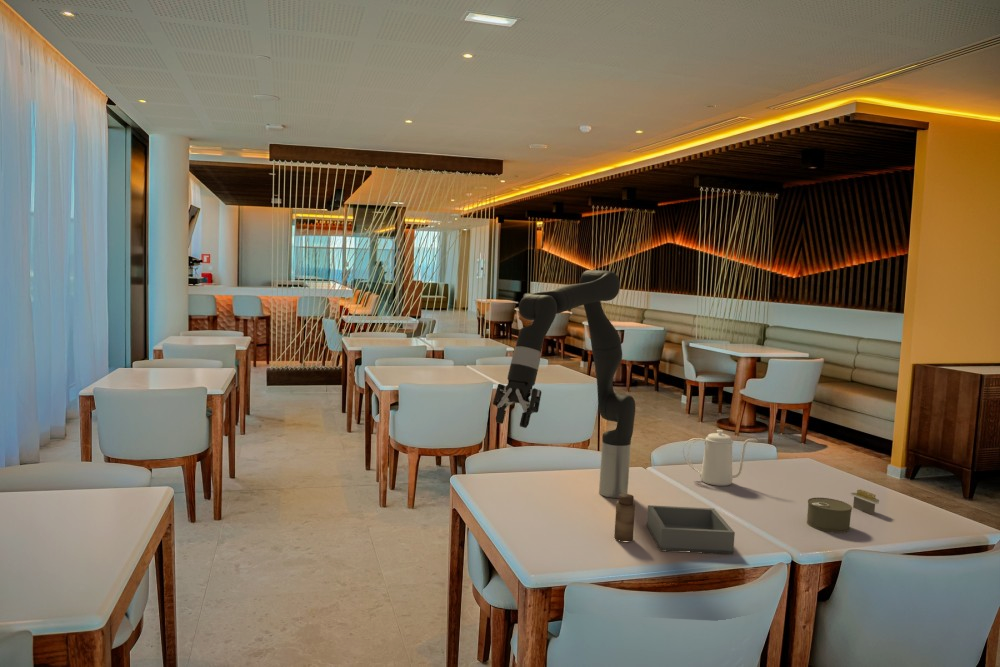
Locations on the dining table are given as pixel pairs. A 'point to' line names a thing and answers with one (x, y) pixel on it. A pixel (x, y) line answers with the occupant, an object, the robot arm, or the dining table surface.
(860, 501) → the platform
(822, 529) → the can
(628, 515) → the pepper mill
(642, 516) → the dining table surface
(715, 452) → the coffeepot
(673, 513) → the serving bin
